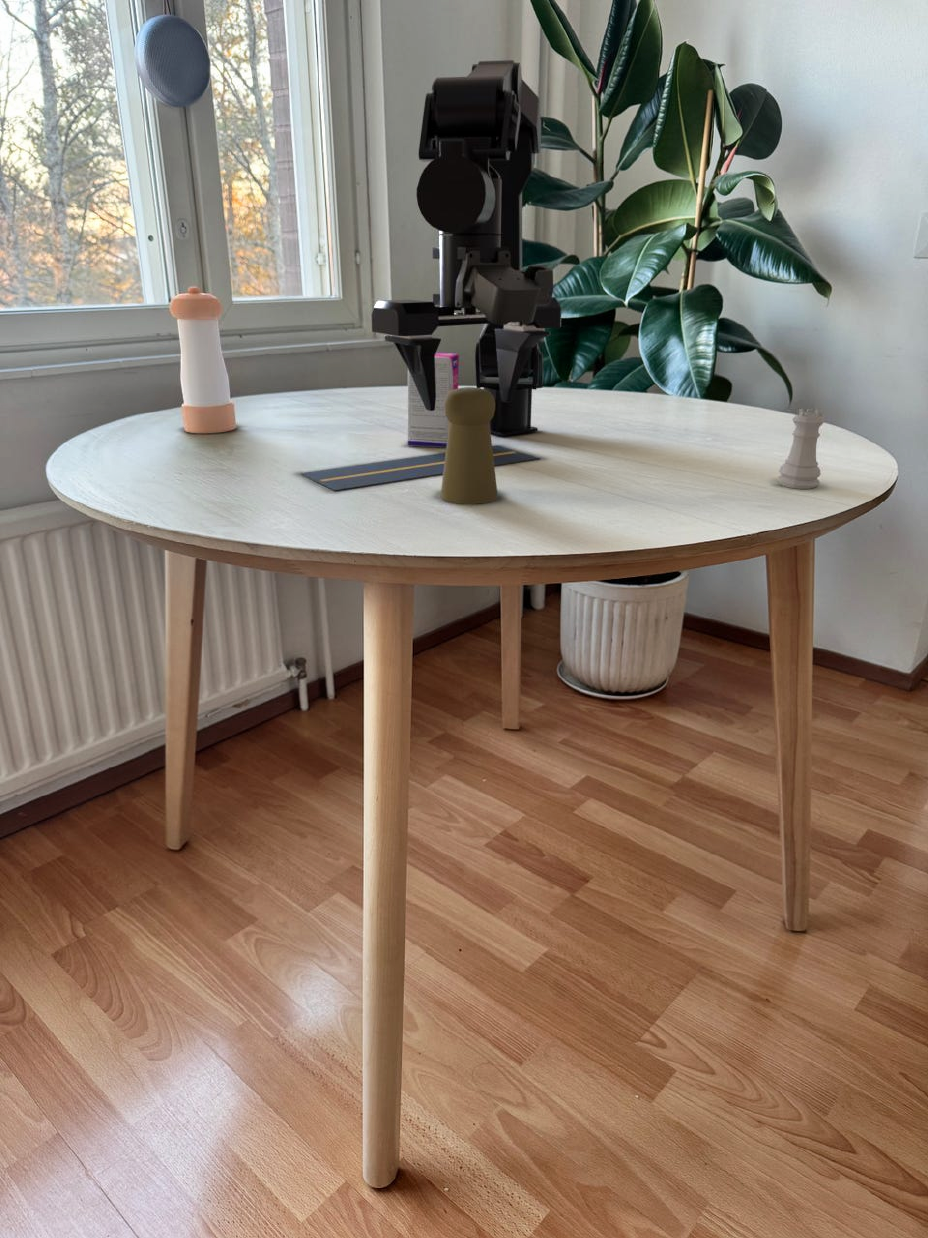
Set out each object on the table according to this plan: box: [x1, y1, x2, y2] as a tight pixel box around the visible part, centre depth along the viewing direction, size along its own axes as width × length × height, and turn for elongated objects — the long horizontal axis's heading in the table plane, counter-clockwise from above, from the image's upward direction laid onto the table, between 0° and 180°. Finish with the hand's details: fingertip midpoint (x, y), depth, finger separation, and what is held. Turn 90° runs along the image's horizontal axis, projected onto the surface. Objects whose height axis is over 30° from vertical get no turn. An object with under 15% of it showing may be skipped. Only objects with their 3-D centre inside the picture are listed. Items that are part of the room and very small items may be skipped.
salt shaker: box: [169, 286, 237, 434], centre depth 117 cm, size 7×7×19 cm
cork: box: [439, 386, 499, 505], centre depth 85 cm, size 6×6×11 cm
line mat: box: [300, 444, 541, 492], centre depth 99 cm, size 28×9×1 cm, turn 124°
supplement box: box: [406, 352, 460, 448], centre depth 110 cm, size 6×6×12 cm
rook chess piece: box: [776, 408, 826, 490], centre depth 90 cm, size 4×4×8 cm
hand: (469, 406), depth 84 cm, fingers open, 9 cm apart
